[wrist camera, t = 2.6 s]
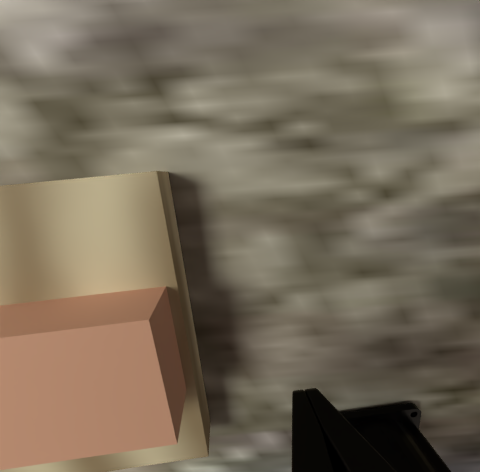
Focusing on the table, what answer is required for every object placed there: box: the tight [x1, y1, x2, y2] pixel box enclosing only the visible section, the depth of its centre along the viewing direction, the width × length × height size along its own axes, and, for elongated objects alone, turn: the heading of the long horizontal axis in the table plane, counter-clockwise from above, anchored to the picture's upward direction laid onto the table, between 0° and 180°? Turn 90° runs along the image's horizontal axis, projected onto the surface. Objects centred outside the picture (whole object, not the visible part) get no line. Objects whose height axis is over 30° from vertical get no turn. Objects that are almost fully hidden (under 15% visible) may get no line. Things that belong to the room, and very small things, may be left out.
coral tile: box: [0, 286, 186, 470], centre depth 10 cm, size 9×6×2 cm, turn 95°
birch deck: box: [0, 171, 210, 472], centre depth 12 cm, size 12×16×2 cm
